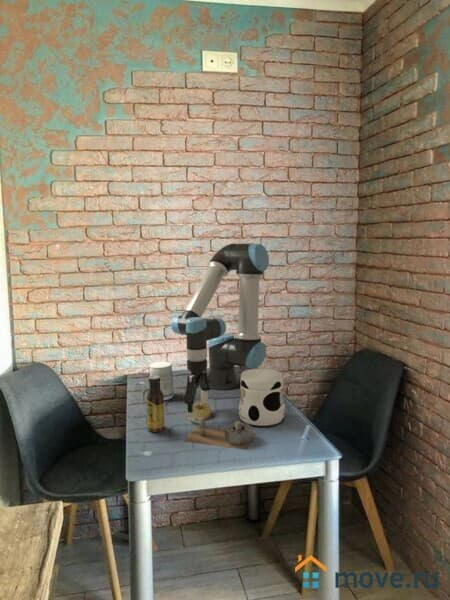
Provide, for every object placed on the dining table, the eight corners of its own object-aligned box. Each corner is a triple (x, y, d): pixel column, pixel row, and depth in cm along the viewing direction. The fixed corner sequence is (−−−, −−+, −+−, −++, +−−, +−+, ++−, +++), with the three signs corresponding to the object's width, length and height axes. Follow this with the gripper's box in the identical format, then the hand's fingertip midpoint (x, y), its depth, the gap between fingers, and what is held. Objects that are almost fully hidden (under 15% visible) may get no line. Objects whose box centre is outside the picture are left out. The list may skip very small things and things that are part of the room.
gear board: (196, 429, 164) (196, 410, 163) (256, 436, 157) (255, 416, 156) (183, 444, 152) (182, 424, 151) (247, 452, 146) (246, 431, 145)
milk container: (231, 416, 174) (230, 370, 172) (272, 409, 181) (271, 365, 178) (250, 434, 158) (249, 384, 156) (294, 426, 165) (294, 378, 162)
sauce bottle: (145, 427, 166) (143, 375, 163) (162, 424, 168) (160, 372, 166) (150, 434, 160) (147, 380, 157) (167, 431, 163) (164, 377, 160)
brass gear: (192, 411, 179) (192, 402, 179) (213, 414, 177) (213, 404, 176) (184, 420, 171) (183, 410, 171) (205, 423, 169) (205, 412, 168)
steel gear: (230, 432, 158) (230, 421, 157) (254, 435, 155) (254, 424, 155) (222, 443, 150) (222, 432, 149) (247, 446, 147) (247, 435, 147)
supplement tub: (177, 398, 195) (176, 364, 193) (157, 403, 190) (155, 369, 187) (167, 391, 203) (165, 359, 201) (147, 396, 198) (145, 363, 195)
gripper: (199, 350, 183) (200, 401, 186) (173, 367, 160) (175, 424, 163) (217, 351, 181) (217, 402, 184) (193, 368, 158) (195, 427, 161)
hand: (198, 413), depth 173 cm, fingers open, 13 cm apart
